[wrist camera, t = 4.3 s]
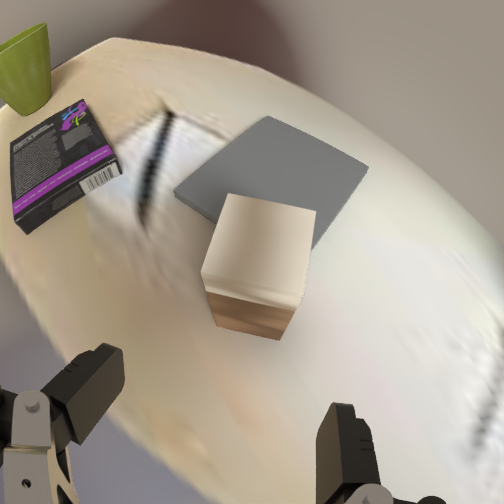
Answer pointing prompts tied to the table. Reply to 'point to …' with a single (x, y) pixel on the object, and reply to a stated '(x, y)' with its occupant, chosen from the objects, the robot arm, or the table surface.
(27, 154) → the box
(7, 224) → the table surface
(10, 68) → the flower pot
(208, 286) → the block
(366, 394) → the table surface
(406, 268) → the table surface
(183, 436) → the table surface
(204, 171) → the mat
